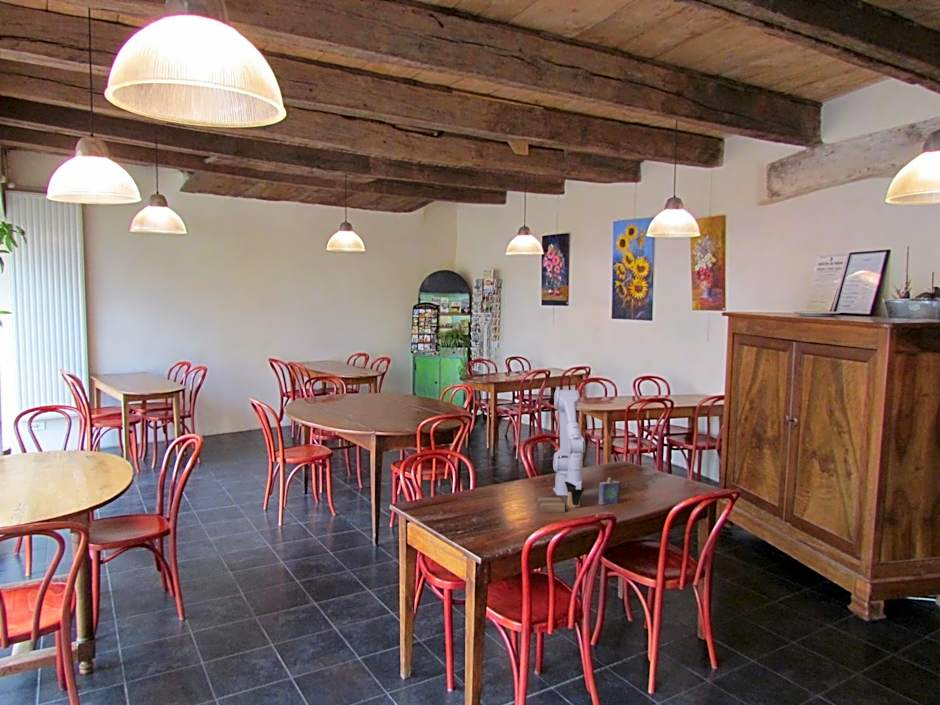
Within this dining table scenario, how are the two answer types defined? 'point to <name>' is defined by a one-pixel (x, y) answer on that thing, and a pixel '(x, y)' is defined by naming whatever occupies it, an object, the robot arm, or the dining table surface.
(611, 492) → the flask
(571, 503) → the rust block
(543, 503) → the base
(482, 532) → the dining table surface
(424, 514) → the dining table surface
